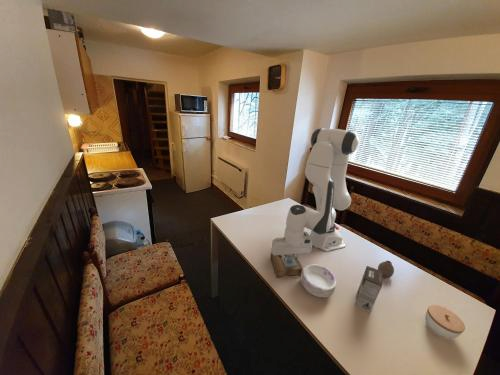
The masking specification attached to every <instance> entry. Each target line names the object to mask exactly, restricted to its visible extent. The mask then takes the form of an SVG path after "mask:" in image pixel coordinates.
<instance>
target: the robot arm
mask: <svg viewBox="0 0 500 375" xmlns="http://www.w3.org/2000/svg"><path fill="white" fill-rule="evenodd" d="M359 141H360V137H359V134H358V133H357V132H355V131H352V130H345V129H340V128H324V127H320V128H317V129H315V130H314V131H313V133H312V134H311V136H310V144H311V147H312V148H311V151H310V153H309V155H308V158H307V161H306V165H305V169H304V174H305V177H306V179H307V180H308V182H310V183H311V185H312V192H313V194H314V198H315V203H316V210H315V209H313V208H311V207H308V206H306V205H301V204H300V205H299V204H294V205H292V206H291V207H290V208H289V209H288V213H287V216H286V221H285V225H286V227H285V228H284V235H283V237H276V238H274V239H272V241H271V248H270V253H271V252H272V254H273V255H274V256H276V255H281V257H282V261H285V259H286V258H285V256H284V255H289V254H296V255H294V259H295V260H299V258H300V256H301V255H302V254H310V253H311V252H312V250H313V247H315V248H317V249H320V250H322V251H324V252H331V251H335V250H339V249H344V248H346V244H345V242H344V240H343V236H342V234H341V233H340V231H338V230H340V227H339V226H338V225H336V223H335V220H336V218H337V212H336V210H338V211H344V210H347V209H348V208H349V207H350V206H351V203H352V197H351V196H350V193H349V192H348V189H347V182H346V175H347V171H348V170H347V169H348V164H349V159H350V158H349V157H350V155H351V154H353V153H354V152H355V151H356V150H357V147H358V146H359ZM335 209H336V210H335ZM305 228H306V229H308V230H311V232H310V234H309V233H308V232H306V231H304V229H305Z"/></svg>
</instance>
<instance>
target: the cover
mask: <svg viewBox="0 0 500 375" xmlns="http://www.w3.org/2000/svg"><path fill="white" fill-rule="evenodd" d="M285 258H286V259H285V261H283V263H284V266H285V267H297V264H296V262H295V260H294V258H293V256H292V255H291V254H289V255H288V257H285Z"/></svg>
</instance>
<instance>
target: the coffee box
mask: <svg viewBox="0 0 500 375" xmlns="http://www.w3.org/2000/svg"><path fill="white" fill-rule="evenodd" d="M383 280H384V277H383V272H382V271H380V270H378V268H375V267H371V266H368V265H366V268H365V270H364V272H363V275H362V278H361V281H360V284H359V286H358V289H357V291H356V292H357V294H356V299H355V306H357V307H360V308H361V309H363V310H366V311H367V312H369V313H371V312H372V310H373V307H374V305H375V303H376V300H377V298H378V296H379V294H380V292H381V290H382V287H383Z"/></svg>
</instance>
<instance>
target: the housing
mask: <svg viewBox="0 0 500 375" xmlns="http://www.w3.org/2000/svg"><path fill="white" fill-rule="evenodd" d="M291 255H292V256H293V258H294V255H296V254H291ZM284 256H285V257H288V255H284ZM269 258H270V262H271V266H272V269H273V272H274V276H275V278H276V279H279V278H290V277H291V278H292V277H302V273H303V267H302V265H301V263H300V260H299V259H298V260H295V259H294V260H295V262H296V264H297V267H285V266H284V263H283V261H282V257H281V255H276V256H274V255H273V254H272V252H271V251H270V257H269Z"/></svg>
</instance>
